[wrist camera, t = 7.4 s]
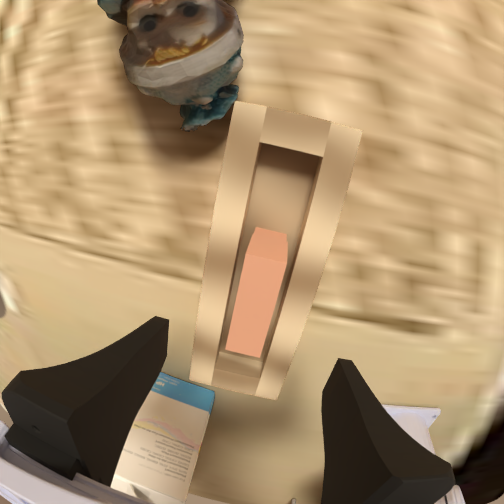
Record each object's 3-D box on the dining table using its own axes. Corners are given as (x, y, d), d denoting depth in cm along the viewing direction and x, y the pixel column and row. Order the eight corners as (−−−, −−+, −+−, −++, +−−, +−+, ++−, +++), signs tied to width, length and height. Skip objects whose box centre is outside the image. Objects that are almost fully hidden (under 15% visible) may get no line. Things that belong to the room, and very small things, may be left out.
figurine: (251, -120, 8) (273, 106, 11) (234, -49, 16) (244, 132, 19) (92, -103, 6) (52, 131, 10) (117, -38, 14) (108, 145, 18)
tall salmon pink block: (267, 307, 23) (259, 357, 18) (239, 301, 23) (225, 349, 18) (288, 228, 20) (287, 263, 15) (257, 220, 20) (245, 253, 15)
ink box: (132, 357, 27) (63, 471, 15) (217, 391, 27) (180, 522, 15) (124, 408, 30) (75, 504, 18) (196, 436, 31) (164, 541, 18)
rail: (278, 379, 26) (276, 400, 23) (196, 360, 26) (189, 379, 24) (353, 130, 18) (362, 130, 16) (241, 103, 18) (235, 100, 16)
